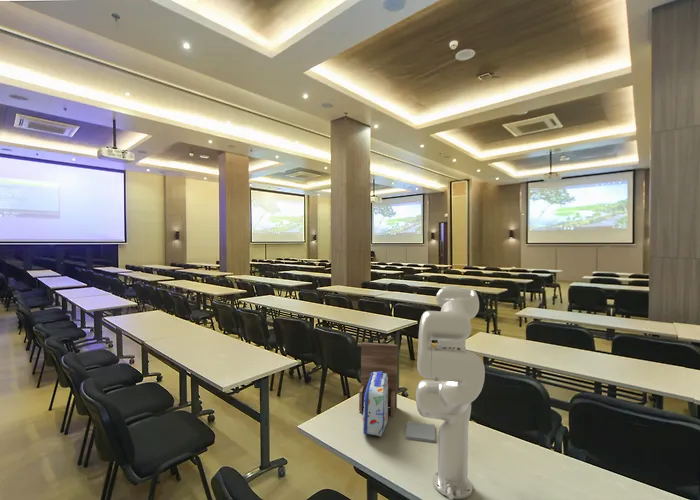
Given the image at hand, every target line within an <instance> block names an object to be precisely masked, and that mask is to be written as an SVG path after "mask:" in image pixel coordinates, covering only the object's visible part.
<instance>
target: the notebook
mask: <svg viewBox="0 0 700 500" xmlns="http://www.w3.org/2000/svg"><path fill="white" fill-rule="evenodd" d="M435 428H436V427H435V424H430V423H421V422H413V421H407V422H406V431H405V439H406V440H413V441H418V442H419V441H420V442H428V443H436V441H437V440H436V429H435Z"/></svg>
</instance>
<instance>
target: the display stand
mask: <svg viewBox="0 0 700 500" xmlns="http://www.w3.org/2000/svg"><path fill="white" fill-rule="evenodd" d="M360 349H361V350H360V389H359V393H358V395H359V396H358V397H359V399H358V400H359V402H358V403H359V407H358V412H359V411H360V412H362V413H363V411H364V408H363V407H364V395H365V392H366V388H367V385H368V382H369V378H370V377H371V372H379V371H382V373H387V376H388V407H391V408H390V417H394V416H393V415H395V411H396V409H395V408H397V409H398V344H391V343H378V342H365V341H364V342H363V341H362V342H360ZM362 410H363V411H362ZM394 410H395V411H394ZM360 412H359V413H360Z"/></svg>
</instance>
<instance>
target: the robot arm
mask: <svg viewBox="0 0 700 500" xmlns="http://www.w3.org/2000/svg"><path fill="white" fill-rule="evenodd" d="M435 297H436V298H435V300H436V304H437V305H438V306H439V307H440V308H441V309H440V311H438V310H426V311H423V313H422V315H421V318H420V321H419V329H418V341H417V343H418V344H417V357H416V358H417V360H416V366H417V367H416V368H417V372H418V374H419V375H420V377H422V378H424V379H421V380H420V381H418V384H417V385H416V389H415V402H416V403H415V404H416V407H417V412H418V413H419V415H420V417H422V418H428V419H435V420H441V421H443V422H442V423H441V424H440V425H439V428H438V433H437V446H438V447H437V472H436V473H435V474H434V475H433V478H432V482H433V487H434V488H435V489H436V491H438V493H440V494H441V495H443V496H445V497H447V498H448V500H462V499H463V500H464V499H467V498H468V497H470V496H471V495H472V494H473V483H472V481H471V480H470V479H469V477H468V474H469V473H468V471H469V468H468V465H469V463H468V462H469V461H468V460H469V458H468V457H469V455H468V454H469V453H468V452H469V425H470V420H471V419H470V418H471V413H472V412H471V411H472V403H473V402H474V401H475V400H476V399H477V398H478V397H479V395H480V394H481V392H482V389H483V387H484V384H485V377H486V376H485V375H486V370H485V364H484V362H483V359H481V358H482V357H480V356H478V355H477V354H476V353H473V352H471V351H467V350H466V340H467V338H469V336H471V333H472V324H471V319H474V318H475V317H476V315H478V312H479V311H480V300H479V296H478V293H477V292H476V290H475V289H472V288H461V287H460V286H457V285H445V286H443V287H441V288H440V289H439V290H438V292H437V293H436V296H435ZM432 341H437V346H436V347H432Z"/></svg>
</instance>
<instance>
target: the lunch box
mask: <svg viewBox="0 0 700 500" xmlns="http://www.w3.org/2000/svg"><path fill="white" fill-rule="evenodd" d="M362 413H363V414H362V416H363V417H362V420H363V421H362V431H363V434H364V435H366V436H367V434H368V435H371V436H377V437H382V436H383V434H384V433H385V429H386V427H387V424H388V419H389V408H388V376H387V373H382V371H379V372H371V377H370V378H369V382H368V385H367V388H366V392H365V395H364V408H363V411H362Z"/></svg>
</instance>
